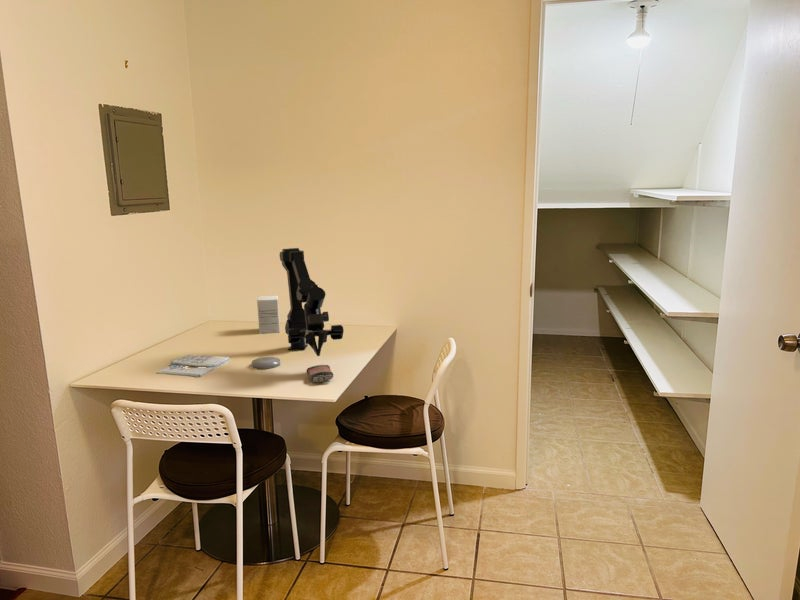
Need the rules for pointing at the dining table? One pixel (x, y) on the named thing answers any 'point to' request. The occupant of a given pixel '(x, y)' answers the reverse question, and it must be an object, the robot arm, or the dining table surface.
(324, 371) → the lighter
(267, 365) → the grey smooth stone
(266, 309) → the supplement box
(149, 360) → the dining table surface
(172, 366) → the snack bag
